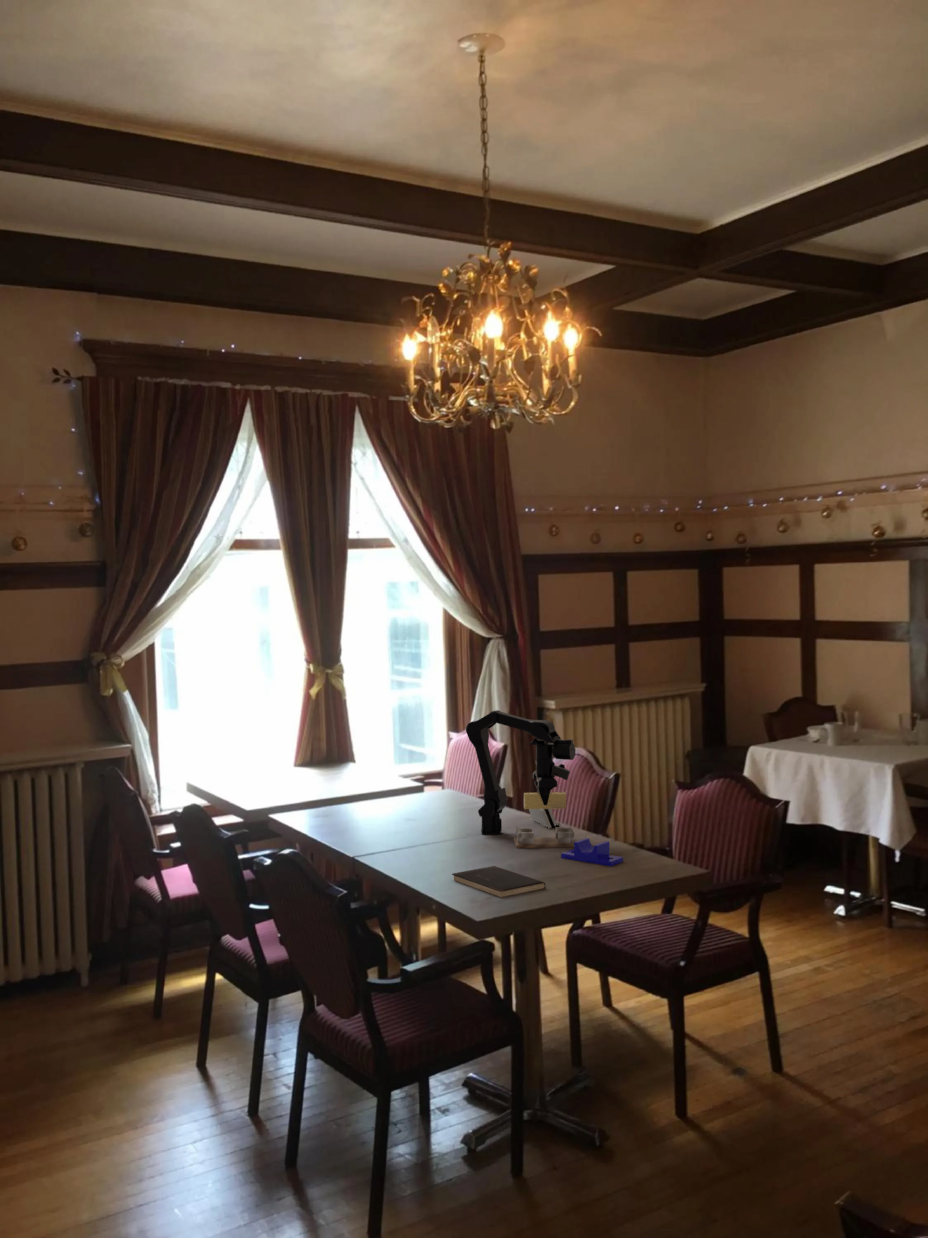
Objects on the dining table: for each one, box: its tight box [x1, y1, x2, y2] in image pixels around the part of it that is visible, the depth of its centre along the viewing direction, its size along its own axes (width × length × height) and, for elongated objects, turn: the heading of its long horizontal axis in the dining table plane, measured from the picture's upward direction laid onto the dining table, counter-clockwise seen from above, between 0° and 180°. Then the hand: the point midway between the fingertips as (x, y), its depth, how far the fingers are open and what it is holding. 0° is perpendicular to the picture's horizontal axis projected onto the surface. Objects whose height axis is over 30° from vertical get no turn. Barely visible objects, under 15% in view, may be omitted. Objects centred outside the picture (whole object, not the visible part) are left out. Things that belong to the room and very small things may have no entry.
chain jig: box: [513, 826, 576, 849], centre depth 361 cm, size 20×11×4 cm, turn 92°
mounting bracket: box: [560, 837, 624, 867], centre depth 338 cm, size 18×7×6 cm, turn 52°
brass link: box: [523, 791, 567, 810], centre depth 369 cm, size 14×4×5 cm, turn 93°
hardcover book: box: [451, 865, 546, 898], centre depth 310 cm, size 16×23×2 cm
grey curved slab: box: [528, 809, 562, 829], centre depth 393 cm, size 17×5×10 cm, turn 17°
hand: (544, 804), depth 369 cm, fingers closed on brass link, 3 cm apart
